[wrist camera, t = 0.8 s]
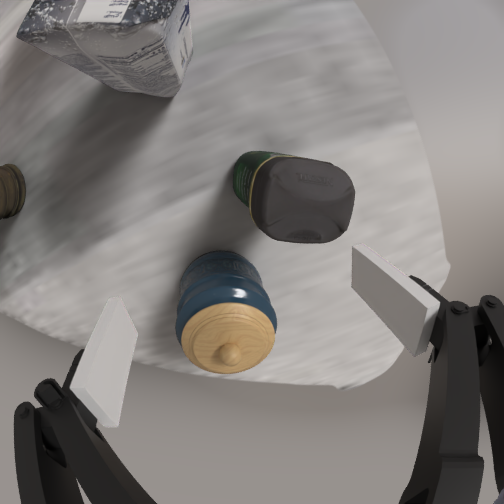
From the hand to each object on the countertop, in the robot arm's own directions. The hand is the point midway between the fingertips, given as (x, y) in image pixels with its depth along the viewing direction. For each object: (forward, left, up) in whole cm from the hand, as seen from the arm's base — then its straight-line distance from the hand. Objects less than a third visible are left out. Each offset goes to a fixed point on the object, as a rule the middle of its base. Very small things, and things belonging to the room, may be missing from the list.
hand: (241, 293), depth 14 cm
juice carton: (-21, -3, -27) cm, 34 cm away
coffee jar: (0, +7, -27) cm, 28 cm away
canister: (+14, -5, -27) cm, 31 cm away
